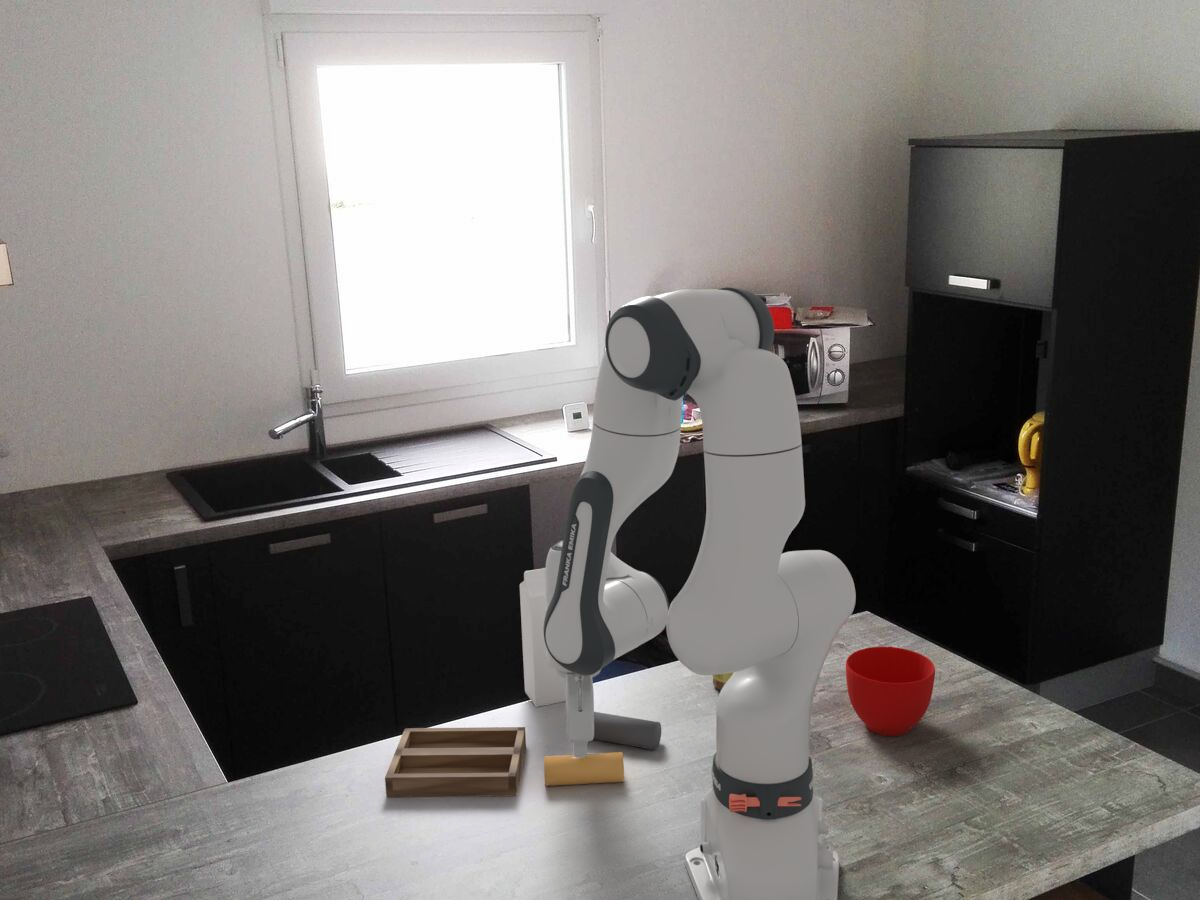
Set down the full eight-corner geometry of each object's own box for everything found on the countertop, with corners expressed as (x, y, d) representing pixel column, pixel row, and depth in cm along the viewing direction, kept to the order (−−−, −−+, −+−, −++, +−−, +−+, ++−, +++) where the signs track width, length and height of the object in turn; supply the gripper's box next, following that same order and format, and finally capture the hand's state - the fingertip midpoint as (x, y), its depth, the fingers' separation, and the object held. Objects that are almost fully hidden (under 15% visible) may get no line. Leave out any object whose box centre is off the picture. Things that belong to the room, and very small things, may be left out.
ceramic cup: (930, 697, 184) (933, 639, 182) (933, 750, 169) (936, 687, 166) (847, 690, 188) (849, 633, 185) (842, 741, 172) (843, 679, 169)
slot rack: (516, 795, 160) (515, 776, 159) (386, 797, 161) (384, 777, 160) (526, 745, 173) (525, 727, 173) (406, 746, 174) (404, 728, 173)
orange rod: (621, 751, 166) (622, 752, 162) (623, 780, 165) (624, 782, 161) (544, 755, 165) (543, 756, 161) (545, 785, 164) (545, 786, 160)
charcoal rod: (658, 751, 173) (663, 723, 174) (650, 748, 169) (655, 720, 170) (590, 739, 177) (594, 712, 178) (581, 736, 173) (586, 709, 174)
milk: (524, 692, 191) (517, 565, 185) (559, 685, 193) (553, 559, 187) (535, 708, 185) (528, 577, 180) (571, 700, 187) (565, 571, 182)
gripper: (604, 682, 151) (605, 776, 155) (597, 617, 171) (598, 702, 175) (555, 683, 151) (557, 777, 155) (554, 618, 171) (556, 703, 174)
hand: (579, 737), depth 165 cm, fingers open, 8 cm apart
